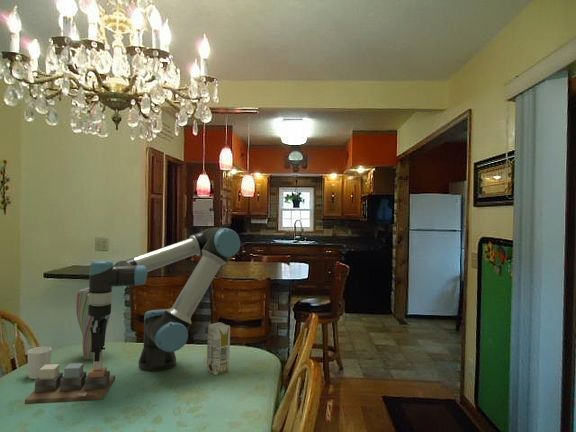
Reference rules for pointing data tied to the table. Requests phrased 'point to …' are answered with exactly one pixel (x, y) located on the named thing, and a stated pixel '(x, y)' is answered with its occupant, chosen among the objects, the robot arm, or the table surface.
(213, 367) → the juice carton
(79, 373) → the slate key
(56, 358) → the table surface
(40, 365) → the white cup
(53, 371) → the cream key
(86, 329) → the vase
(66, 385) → the board
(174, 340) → the robot arm
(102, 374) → the terracotta key
